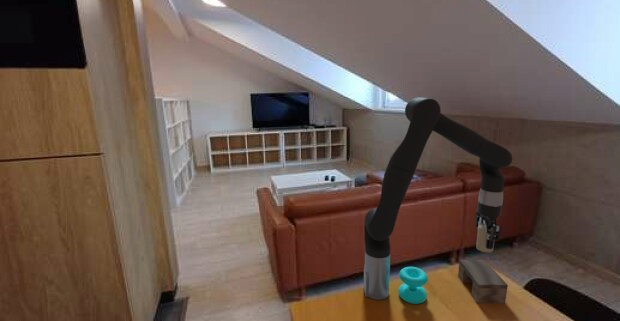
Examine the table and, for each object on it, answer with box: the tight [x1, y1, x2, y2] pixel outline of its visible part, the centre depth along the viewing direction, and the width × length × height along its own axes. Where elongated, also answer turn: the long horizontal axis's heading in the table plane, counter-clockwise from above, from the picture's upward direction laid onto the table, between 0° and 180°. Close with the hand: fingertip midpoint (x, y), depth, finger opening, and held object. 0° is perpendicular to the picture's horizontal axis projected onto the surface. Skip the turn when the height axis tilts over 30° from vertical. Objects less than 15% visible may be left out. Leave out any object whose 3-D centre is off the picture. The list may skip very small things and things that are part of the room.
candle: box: [475, 224, 495, 253], centre depth 112 cm, size 6×6×10 cm
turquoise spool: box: [398, 266, 429, 305], centre depth 112 cm, size 10×10×10 cm
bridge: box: [457, 259, 509, 304], centre depth 116 cm, size 10×16×8 cm, turn 177°
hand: (485, 243), depth 112 cm, fingers closed on candle, 5 cm apart
